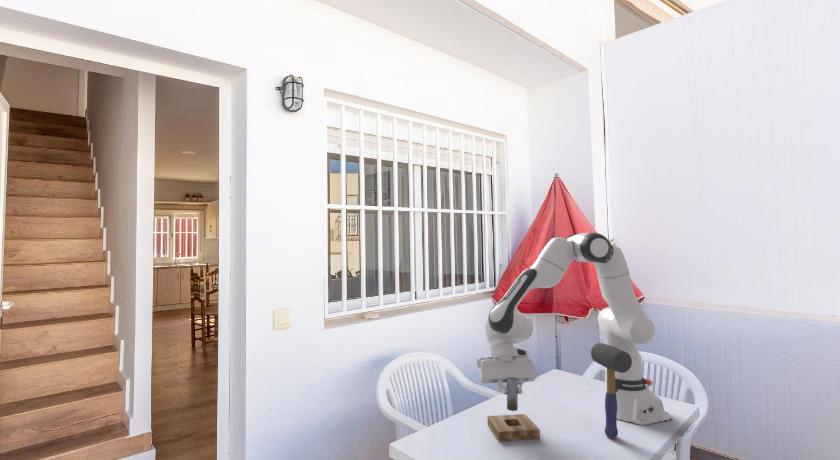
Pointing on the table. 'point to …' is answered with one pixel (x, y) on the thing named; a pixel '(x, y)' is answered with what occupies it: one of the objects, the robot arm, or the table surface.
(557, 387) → the table surface
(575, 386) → the table surface
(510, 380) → the pin
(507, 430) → the hole plate
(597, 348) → the rubber mallet
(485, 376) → the robot arm
